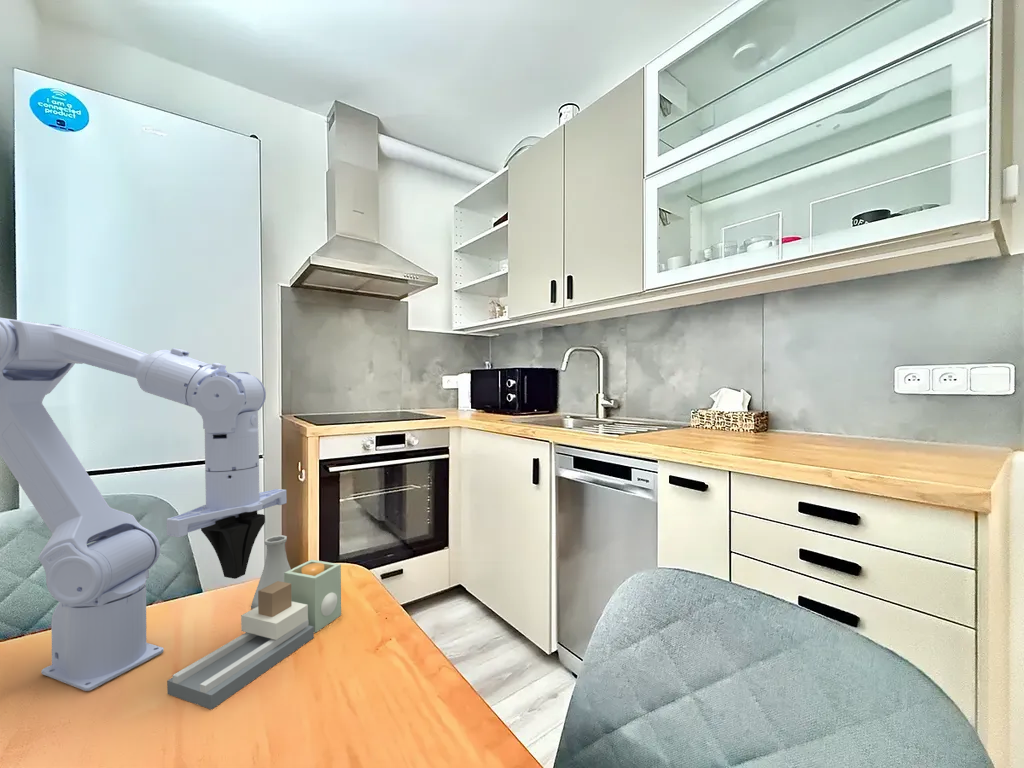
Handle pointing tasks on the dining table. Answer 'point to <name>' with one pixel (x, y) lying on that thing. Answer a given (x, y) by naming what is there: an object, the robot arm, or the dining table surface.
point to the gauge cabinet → (317, 592)
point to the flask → (273, 564)
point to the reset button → (313, 569)
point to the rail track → (234, 666)
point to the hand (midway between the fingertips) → (234, 575)
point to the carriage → (274, 612)
